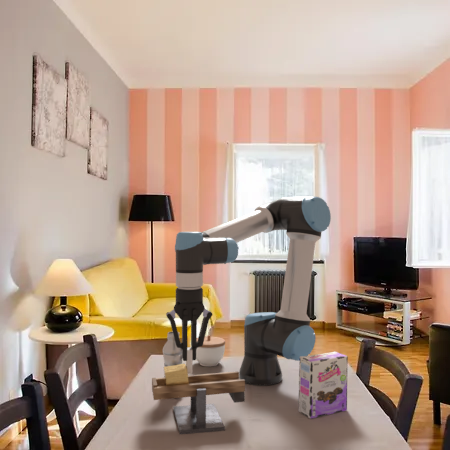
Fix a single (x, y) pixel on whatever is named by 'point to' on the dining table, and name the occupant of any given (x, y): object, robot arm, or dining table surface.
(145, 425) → the dining table surface
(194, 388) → the beam
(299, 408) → the candy box
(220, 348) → the lidded bowl
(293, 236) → the robot arm
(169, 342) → the plastic bottle
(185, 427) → the pivot stand
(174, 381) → the block
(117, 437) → the dining table surface
